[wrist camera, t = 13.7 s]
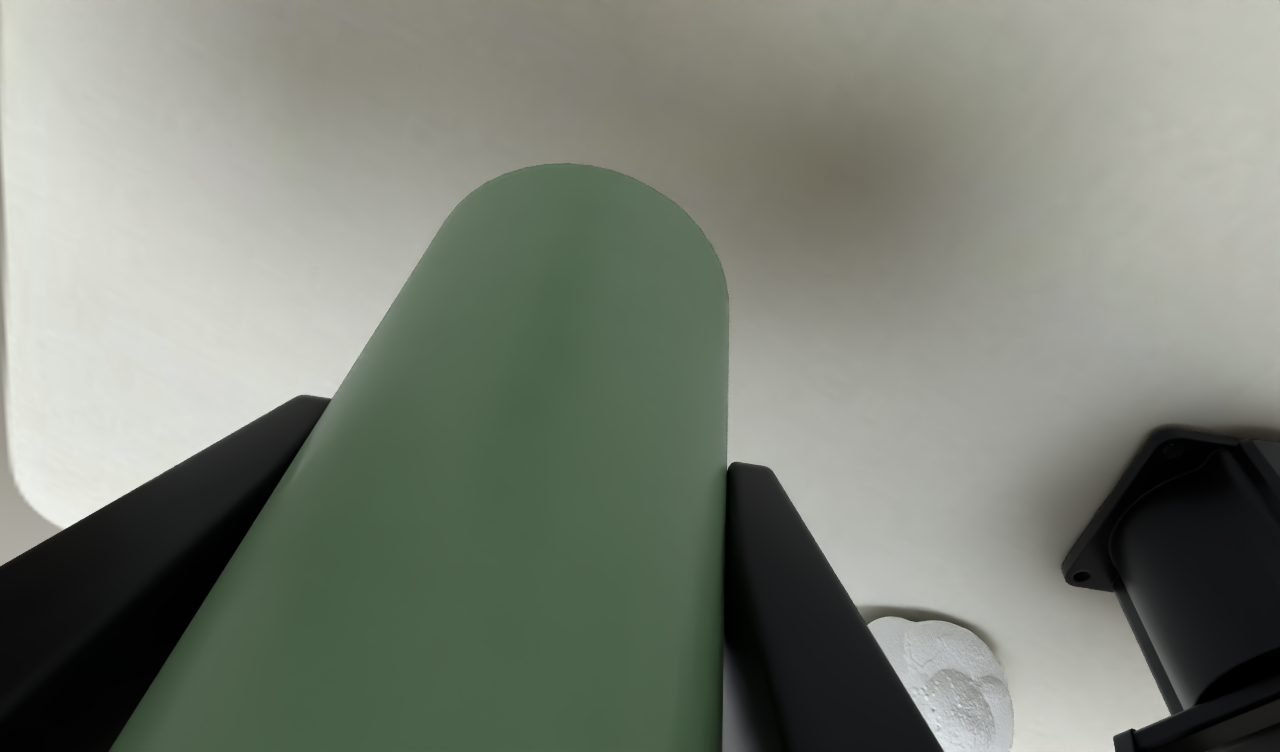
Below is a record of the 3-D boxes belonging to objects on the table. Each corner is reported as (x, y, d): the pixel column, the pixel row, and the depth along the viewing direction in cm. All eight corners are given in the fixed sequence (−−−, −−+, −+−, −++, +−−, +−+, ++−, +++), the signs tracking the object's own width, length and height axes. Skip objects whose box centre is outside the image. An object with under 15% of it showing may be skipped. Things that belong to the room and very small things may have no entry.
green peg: (701, 439, 12) (632, 1733, 4) (433, 397, 12) (-144, 1608, 4) (758, 188, 10) (847, 2102, 2) (423, 136, 10) (-963, 1808, 2)
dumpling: (945, 691, 32) (1024, 648, 30) (971, 835, 28) (1064, 797, 26) (797, 627, 30) (868, 575, 28) (803, 770, 26) (886, 724, 24)
